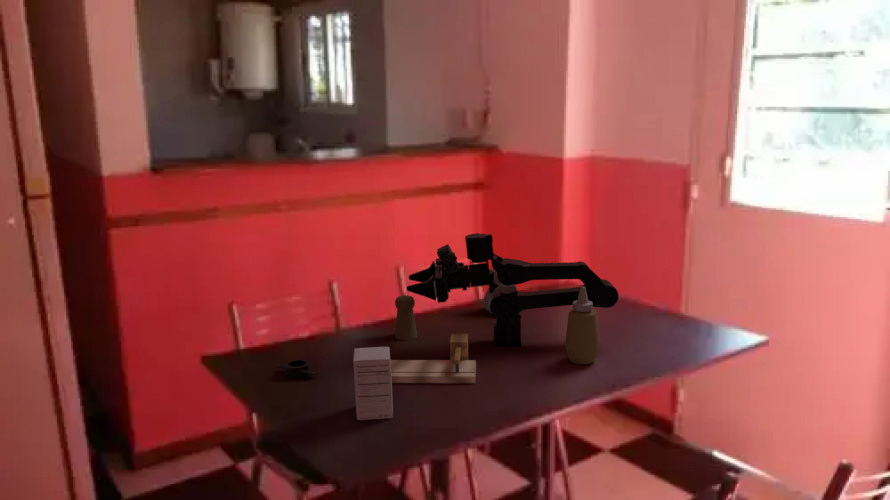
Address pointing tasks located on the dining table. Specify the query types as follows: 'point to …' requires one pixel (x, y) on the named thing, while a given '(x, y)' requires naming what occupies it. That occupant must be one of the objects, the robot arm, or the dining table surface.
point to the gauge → (458, 349)
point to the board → (432, 371)
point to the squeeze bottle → (582, 331)
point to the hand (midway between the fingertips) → (407, 283)
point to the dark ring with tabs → (297, 369)
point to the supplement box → (373, 383)
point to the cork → (405, 318)
